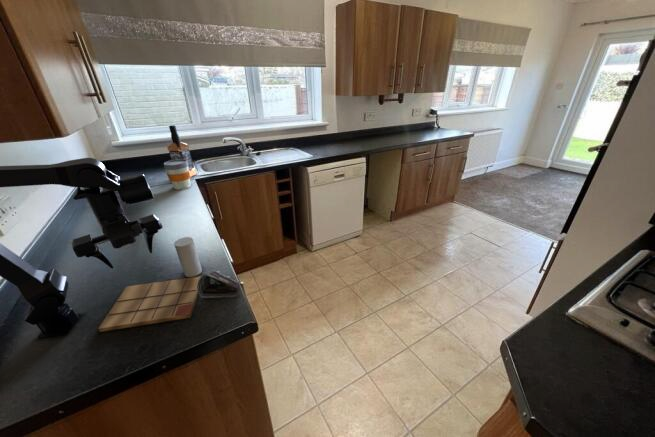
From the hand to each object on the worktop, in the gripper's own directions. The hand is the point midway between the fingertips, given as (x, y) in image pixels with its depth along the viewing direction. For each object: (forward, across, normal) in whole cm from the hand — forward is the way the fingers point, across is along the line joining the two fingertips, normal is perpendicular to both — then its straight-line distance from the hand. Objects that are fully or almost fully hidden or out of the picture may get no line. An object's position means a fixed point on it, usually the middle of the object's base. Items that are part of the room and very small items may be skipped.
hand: (132, 259), depth 74 cm
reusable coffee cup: (+14, +39, +88) cm, 97 cm away
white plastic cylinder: (+13, +13, +1) cm, 19 cm away
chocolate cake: (+14, +17, -14) cm, 26 cm away
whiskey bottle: (+14, +48, +108) cm, 119 cm away
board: (+13, +1, -6) cm, 14 cm away
